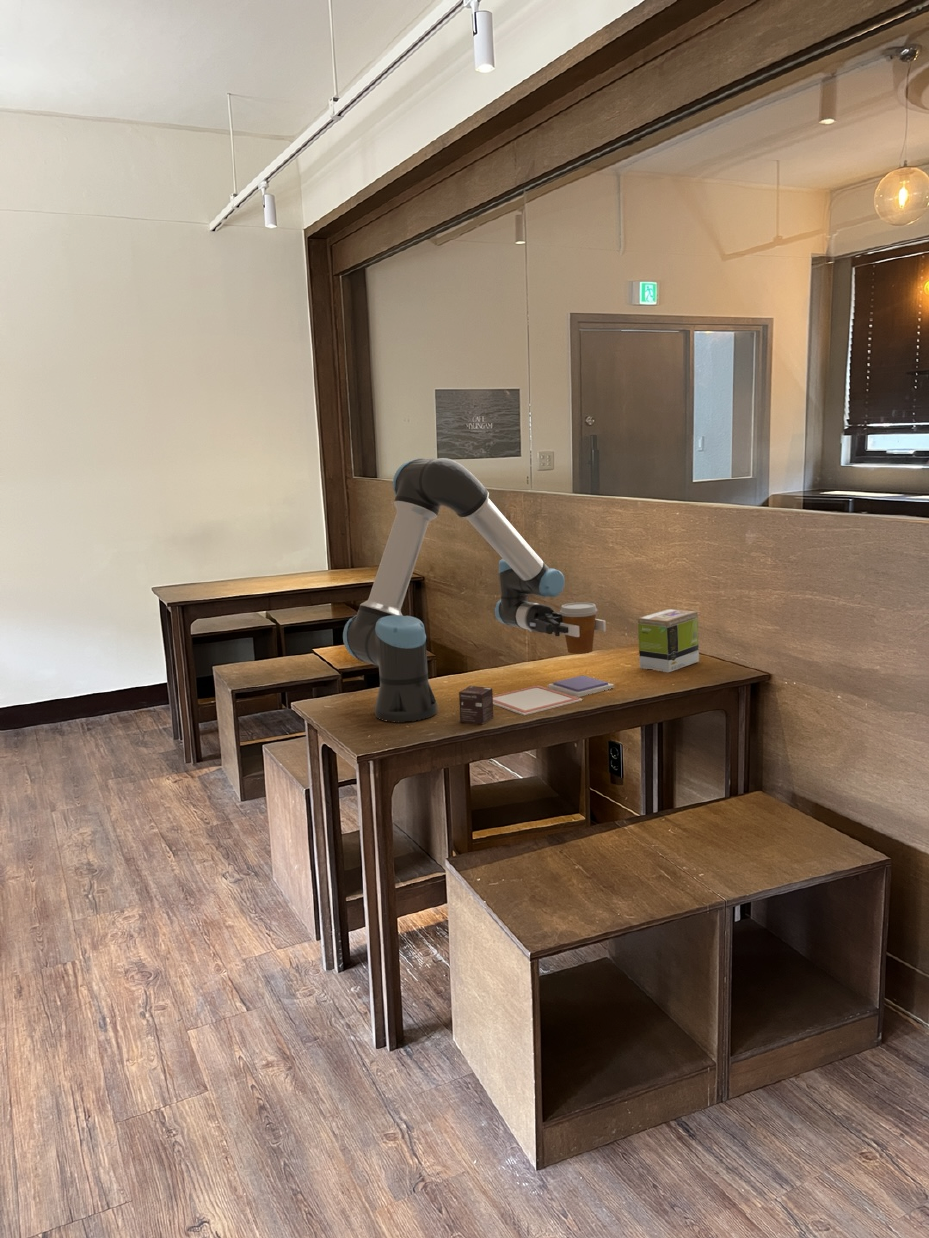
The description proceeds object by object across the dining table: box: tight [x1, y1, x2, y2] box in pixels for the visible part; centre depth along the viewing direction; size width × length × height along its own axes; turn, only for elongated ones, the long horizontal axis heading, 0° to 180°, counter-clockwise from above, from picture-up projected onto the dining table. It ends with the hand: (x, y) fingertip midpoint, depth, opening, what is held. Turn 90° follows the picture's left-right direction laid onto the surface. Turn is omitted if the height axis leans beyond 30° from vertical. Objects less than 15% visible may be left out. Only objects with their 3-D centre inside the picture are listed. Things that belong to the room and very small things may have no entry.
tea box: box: [637, 608, 700, 673], centre depth 245 cm, size 15×10×15 cm, turn 133°
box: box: [458, 685, 494, 725], centre depth 206 cm, size 6×6×7 cm
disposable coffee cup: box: [559, 602, 598, 655], centre depth 225 cm, size 10×10×12 cm
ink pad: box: [547, 674, 615, 698], centre depth 228 cm, size 12×12×2 cm
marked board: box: [493, 684, 583, 716], centre depth 220 cm, size 18×18×1 cm
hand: (591, 628), depth 221 cm, fingers closed on disposable coffee cup, 8 cm apart
